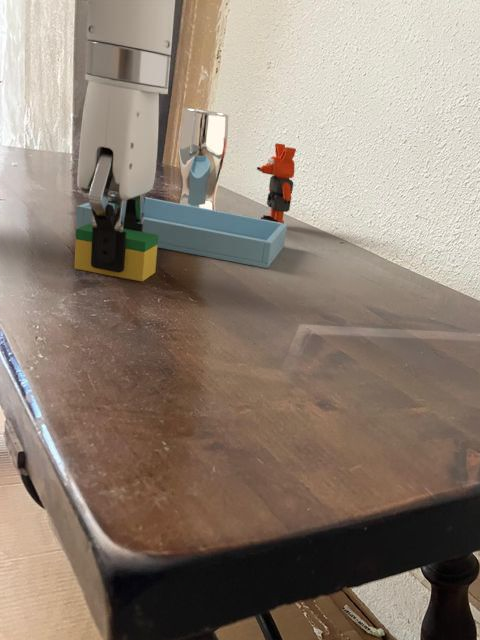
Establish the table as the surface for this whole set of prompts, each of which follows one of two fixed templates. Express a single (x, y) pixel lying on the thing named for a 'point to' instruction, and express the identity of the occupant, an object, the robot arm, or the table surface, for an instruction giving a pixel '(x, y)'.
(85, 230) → the sponge
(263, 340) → the table surface
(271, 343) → the table surface
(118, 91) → the robot arm
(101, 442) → the table surface
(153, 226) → the tray
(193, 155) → the beer glass
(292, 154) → the toy animal
